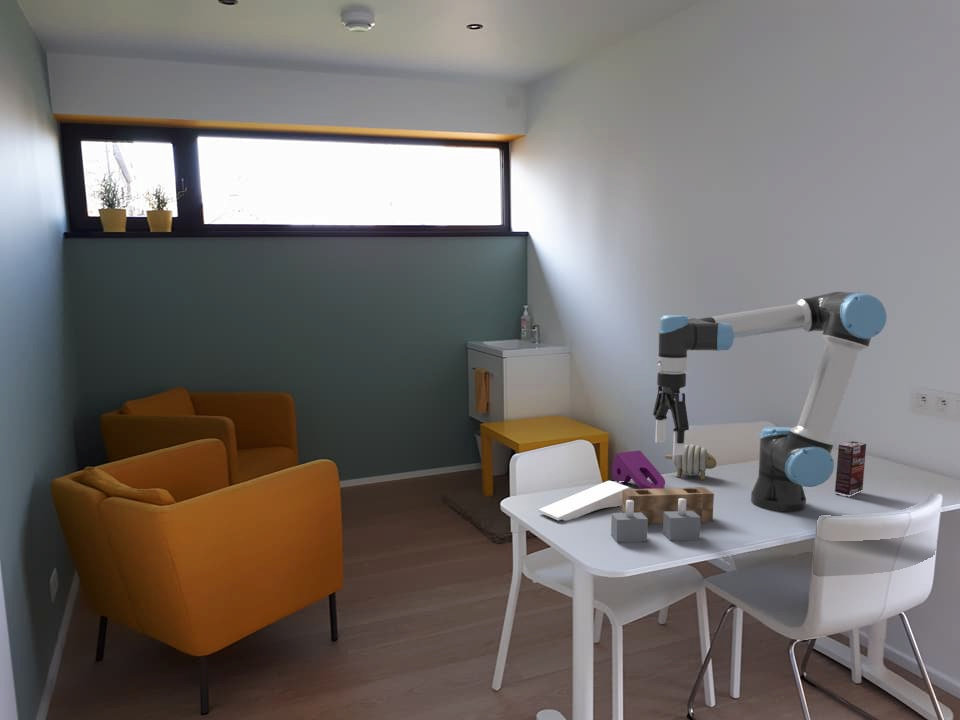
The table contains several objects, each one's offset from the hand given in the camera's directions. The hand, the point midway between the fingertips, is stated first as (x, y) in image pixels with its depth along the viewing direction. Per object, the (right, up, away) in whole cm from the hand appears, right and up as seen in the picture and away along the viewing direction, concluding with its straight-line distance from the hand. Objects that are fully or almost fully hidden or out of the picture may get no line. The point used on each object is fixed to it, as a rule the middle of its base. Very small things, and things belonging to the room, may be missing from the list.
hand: (669, 448), depth 198 cm
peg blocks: (-7, -22, -11) cm, 25 cm away
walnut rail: (0, -20, +3) cm, 20 cm away
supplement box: (+63, -18, +26) cm, 70 cm away
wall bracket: (-22, -20, +11) cm, 31 cm away
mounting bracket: (0, -17, +35) cm, 38 cm away
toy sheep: (+19, -15, +44) cm, 51 cm away
